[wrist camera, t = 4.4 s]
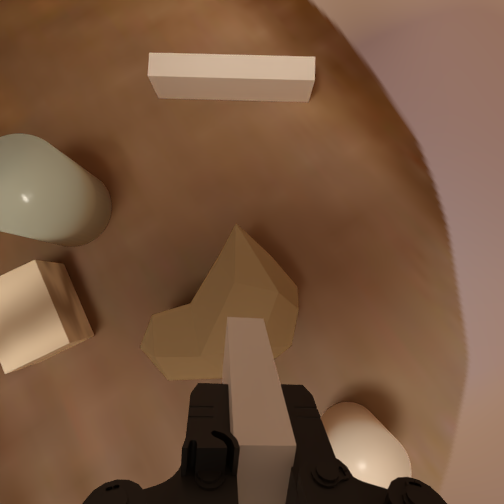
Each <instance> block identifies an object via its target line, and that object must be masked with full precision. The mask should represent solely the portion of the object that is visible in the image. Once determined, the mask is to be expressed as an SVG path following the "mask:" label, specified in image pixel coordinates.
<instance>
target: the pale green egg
mask: <svg viewBox="0 0 504 504" xmlns="http://www.w3.org/2000/svg"><path fill="white" fill-rule="evenodd" d="M111 211H112V203H111V197H110V194H109V192H108V190H107V188H106V186H105V185H104V184H103V183H102V182H101V181H100V180H99V179H98V178H96V177H95V176H94V175H92V174H91V173H89V172H88V171H87V170H85V169H84V168H82V167H81V166H80V165H78V164H77V163H76V162H74V161H73V160H71V159H70V158H69V157H67V156H66V155H64V154H63V153H62V152H60V151H59V150H57V149H56V148H55V147H53V146H52V145H51V144H49V143H48V142H46V141H45V140H43V139H41V138H39V137H36V136H34V135H29V134H10V135H6V136H2V137H0V231H2V232H6V233H10V234H15V235H19V236H23V237H27V238H32V239H36V240H40V241H44V242H49V243H53V244H57V245H61V246H67V247H76V246H81V245H84V244H87V243H89V242H91V241H93V240H94V239H96V238H97V237H98V236H99V235H100V234H101V233H102V232H103V231H104V229H105V228H106V226H107V224H108V222H109V220H110V216H111Z"/></svg>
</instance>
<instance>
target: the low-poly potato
mask: <svg viewBox="0 0 504 504" xmlns="http://www.w3.org/2000/svg"><path fill="white" fill-rule="evenodd" d="M298 311H299V304H298V287H297V286H296V285H295V283H294V282H293V281H292V280H291V279H290V277H289V276H288V275H287V274H286V273H285V272H284V270H283V269H282V268H281V267H280V266H279V264H278V263H277V262H276V261H275V260H274V259H273V257H272V256H271V255H270V254H268V253H267V252H266V251H265V250H264V249H263V248H262V247H261V246H260V245H259V244H258V243H257V242H256V241H255V240H254V239H253V238H251V237H250V236H249V235H248V234H247V233H246V232H245V231H244V230H243V229H242V228H241V227H240V226H239V225H238V224H237V223H236V224H235V226H234V228H233V229H232V231H231V233H230V235H229V237H228V239H227V241H226V243H225V245H224V247H223V249H222V251H221V252H220V254H219V256H218V258H217V259H216V261H215V263H214V264H213V266H212V268H211V269H210V271H209V273H208V275H207V276H206V278H205V280H204V281H203V283H202V285H201V286H200V288H199V290H198V291H197V293H196V295H195V297H194V298H193V300H192V302H191V303H190V304H187V305H183V306H180V307H176V308H173V309H170V310H166V311H163V312H159V313H156V314H153V315H152V317H151V319H150V322H149V324H148V327H147V330H146V332H145V335H144V337H143V340H142V343H141V345H140V348H141V350H142V351H143V352H144V353H145V354H146V355H147V356H148V358H149V359H150V360H151V361H152V362H153V363H154V365H155V366H156V367H157V368H158V369H159V370H160V372H161V373H162V374H163V375H164V376H165V377H166V379H167V380H168V381H169V380H192V379H215V378H222V372H223V361H224V349H225V338H226V326H227V317H240V318H261V319H264V323H265V327H266V331H267V334H268V338H269V342H270V346H271V350H272V354H273V357H274V359H275V358H277V357H278V356H279V355H281V354H282V353H283V352H284V351H286V350H287V349H288V348H289V347H291V346H292V341H293V336H294V331H295V326H296V321H297V316H298Z"/></svg>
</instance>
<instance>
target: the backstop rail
mask: <svg viewBox="0 0 504 504" xmlns="http://www.w3.org/2000/svg"><path fill="white" fill-rule="evenodd" d="M148 78H149V80H150V82H151V84H152V86H153V88H154V90H155V92H156V94H157V96H158V98H165V99H203V100H241V101H279V102H309V99H310V95H311V92H312V88H313V85H314V81H315V57H302V56H263V55H224V54H184V53H149V64H148Z"/></svg>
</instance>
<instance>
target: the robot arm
mask: <svg viewBox="0 0 504 504" xmlns="http://www.w3.org/2000/svg"><path fill="white" fill-rule="evenodd" d="M222 383H223V384H207V383H198V384H197V386H196V387H195V388H194V390H193V391H192V392H191V395H190V404H189V414H188V423H187V432H186V439H185V441H184V444H183V447H182V459H181V466H180V468H179V470H178V471H177V472H176V473H175V474H174V476H173V477H171V478H170V479H168V480H167V481H165V482H163V483H161V484H159V485H156V486H153V487H150V488H147V489H142V488H141V487H140V486H139V484H137V483H135V482H132V481H130V480H114V481H111V482H107V483H105V484H103V485H101V486H100V487H98V488H97V489H95V490H94V491H93V492H92V493H91V494H90V495H89V496H88V497H87V499H86V500H85V501H84V502H83V504H447V503H446V502H445V501H444V500H443V499H442V497H441V496H440V495H439V494H438V493H437V492H435V491H434V490H433V489H432V488H431V487H430V486H428V485H427V484H425V483H423V482H421V481H420V480H417V479H413V478H410V477H398V478H396V479H394V480H393V481H391V483H390V485H389V487H388V489H386V488H383V487H379V486H376V485H372V484H369V483H366V482H363V481H361V480H358V479H357V478H355V477H353V476H352V474H351V472H350V471H349V469H348V467H347V466H346V465H345V464H343V463H342V462H341V461H340V460H339V459H337V458H336V457H335V454H334V452H333V449H332V446H331V444H330V441H329V438H328V436H327V433H326V430H325V428H324V425H323V422H322V420H321V419H320V414H319V412H318V409H317V407H316V404H315V401H314V399H313V396H312V394H311V393H310V392H309V391H308V390H307V389H306V388H305V387H304V386H303V385H286V384H280V380H279V377H278V373H277V369H276V365H275V361H274V357H273V354H272V350H271V346H270V342H269V338H268V334H267V331H266V327H265V323H264V319H261V318H240V317H227V326H226V338H225V349H224V361H223V372H222Z"/></svg>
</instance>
